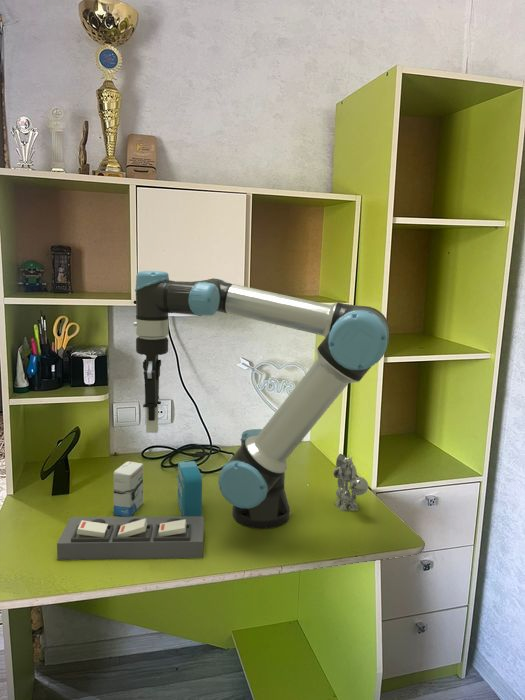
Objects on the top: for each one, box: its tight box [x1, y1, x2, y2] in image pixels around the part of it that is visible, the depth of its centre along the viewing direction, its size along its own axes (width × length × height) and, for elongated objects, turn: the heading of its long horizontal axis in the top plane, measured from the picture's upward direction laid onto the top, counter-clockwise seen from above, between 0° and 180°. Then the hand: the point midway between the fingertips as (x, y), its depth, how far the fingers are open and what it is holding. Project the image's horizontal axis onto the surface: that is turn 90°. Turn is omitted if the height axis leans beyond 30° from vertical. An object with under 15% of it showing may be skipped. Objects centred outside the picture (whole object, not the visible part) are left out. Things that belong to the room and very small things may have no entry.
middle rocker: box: [118, 518, 147, 537], centre depth 126 cm, size 6×4×1 cm, turn 95°
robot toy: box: [332, 453, 369, 512], centre depth 150 cm, size 15×6×15 cm, turn 17°
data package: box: [177, 460, 203, 516], centre depth 146 cm, size 12×4×12 cm, turn 17°
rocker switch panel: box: [56, 515, 205, 561], centre depth 129 cm, size 32×12×5 cm, turn 95°
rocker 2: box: [158, 519, 187, 537], centre depth 127 cm, size 6×4×1 cm, turn 95°
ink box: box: [112, 461, 144, 517], centre depth 146 cm, size 8×5×12 cm, turn 168°
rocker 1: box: [77, 520, 108, 538], centre depth 125 cm, size 6×4×1 cm, turn 95°
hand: (152, 431), depth 135 cm, fingers closed
